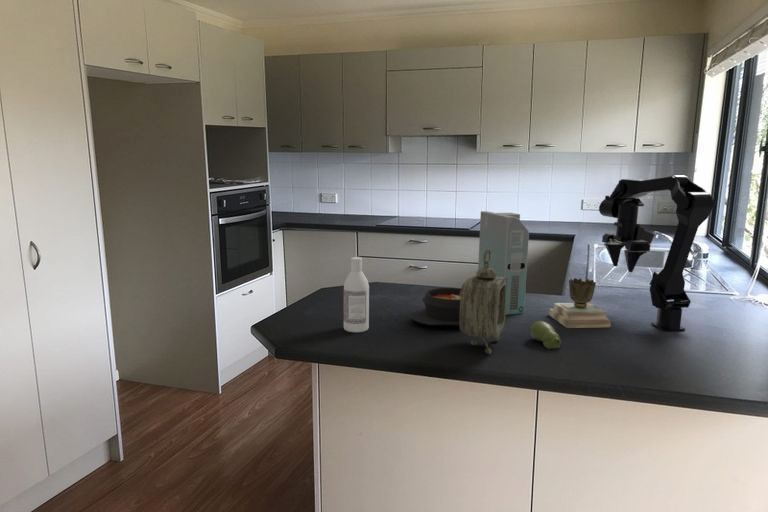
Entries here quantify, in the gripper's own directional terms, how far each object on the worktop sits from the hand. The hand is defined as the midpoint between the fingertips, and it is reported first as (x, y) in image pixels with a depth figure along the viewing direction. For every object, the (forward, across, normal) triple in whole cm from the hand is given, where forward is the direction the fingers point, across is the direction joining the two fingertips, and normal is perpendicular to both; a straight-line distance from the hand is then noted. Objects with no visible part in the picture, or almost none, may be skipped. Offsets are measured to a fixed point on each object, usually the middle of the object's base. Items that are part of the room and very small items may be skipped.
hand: (622, 269), depth 180 cm
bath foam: (+13, -16, +85) cm, 87 cm away
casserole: (+13, -10, +57) cm, 59 cm away
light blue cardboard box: (+13, +4, +38) cm, 40 cm away
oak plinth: (+13, -12, +19) cm, 26 cm away
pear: (+13, -31, +37) cm, 50 cm away
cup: (+9, -12, +19) cm, 24 cm away
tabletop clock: (+13, -32, +54) cm, 64 cm away
